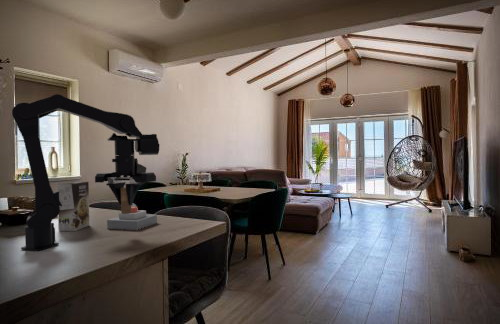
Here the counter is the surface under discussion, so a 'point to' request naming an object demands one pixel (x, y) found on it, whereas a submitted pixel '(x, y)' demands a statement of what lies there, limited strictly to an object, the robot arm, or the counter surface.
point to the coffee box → (73, 206)
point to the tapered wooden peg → (124, 202)
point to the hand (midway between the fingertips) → (126, 205)
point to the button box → (132, 221)
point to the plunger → (133, 209)
